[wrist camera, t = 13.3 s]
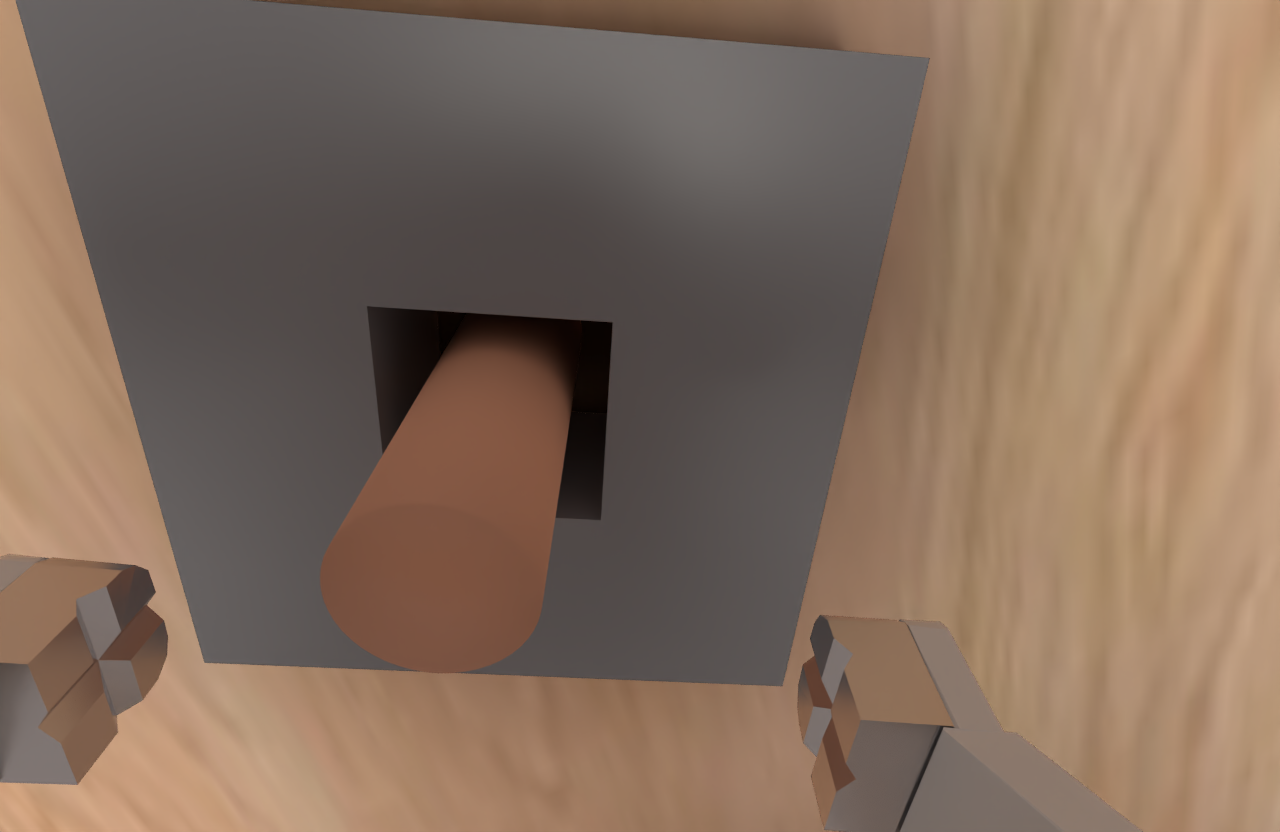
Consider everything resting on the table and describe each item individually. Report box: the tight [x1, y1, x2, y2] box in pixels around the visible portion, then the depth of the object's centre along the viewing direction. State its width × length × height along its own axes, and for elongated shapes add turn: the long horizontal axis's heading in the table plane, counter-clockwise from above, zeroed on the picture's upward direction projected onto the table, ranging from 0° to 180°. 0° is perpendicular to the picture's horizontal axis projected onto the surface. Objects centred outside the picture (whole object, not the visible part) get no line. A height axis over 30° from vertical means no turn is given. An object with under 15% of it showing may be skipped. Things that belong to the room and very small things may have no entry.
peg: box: [320, 313, 582, 673], centre depth 14 cm, size 3×3×10 cm
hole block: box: [16, 0, 930, 686], centre depth 16 cm, size 14×14×5 cm
